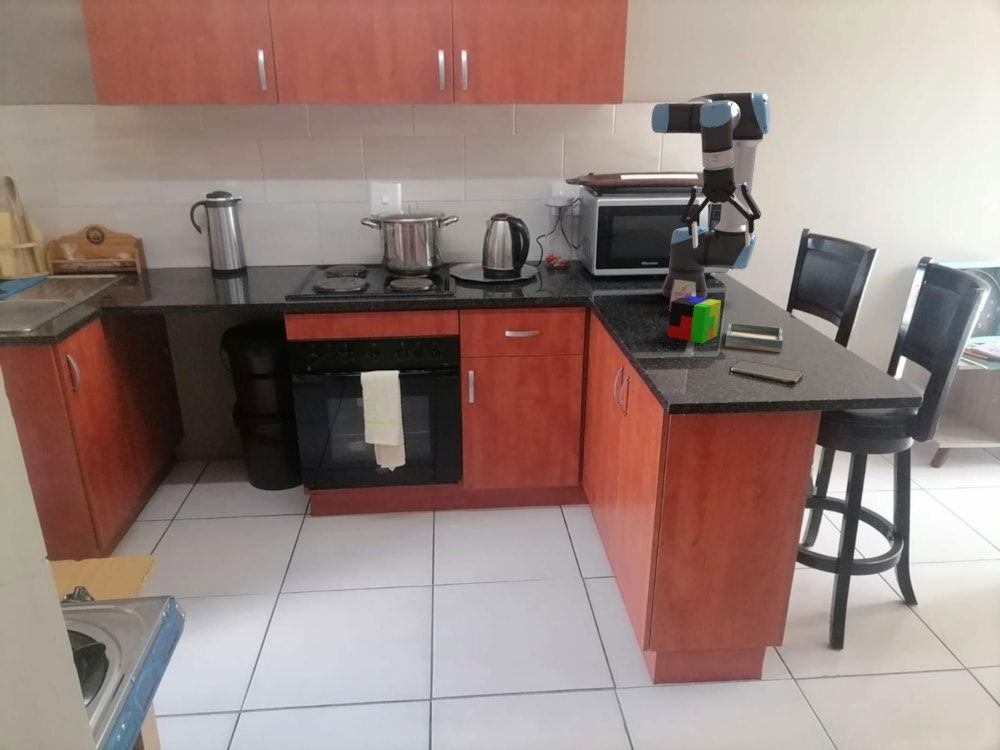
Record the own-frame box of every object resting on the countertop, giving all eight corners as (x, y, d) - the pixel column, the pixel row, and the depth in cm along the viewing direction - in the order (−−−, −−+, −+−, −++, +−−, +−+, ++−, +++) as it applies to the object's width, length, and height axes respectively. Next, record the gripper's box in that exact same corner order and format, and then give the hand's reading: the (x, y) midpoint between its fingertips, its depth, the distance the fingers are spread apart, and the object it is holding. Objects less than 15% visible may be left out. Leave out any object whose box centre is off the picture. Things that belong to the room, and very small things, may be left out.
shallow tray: (727, 332, 199) (729, 322, 198) (780, 337, 195) (782, 327, 194) (724, 346, 187) (726, 335, 186) (781, 352, 182) (782, 341, 181)
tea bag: (673, 309, 224) (676, 278, 221) (694, 312, 221) (697, 281, 217) (669, 311, 222) (672, 280, 218) (689, 315, 218) (693, 283, 214)
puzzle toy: (684, 329, 203) (687, 295, 199) (717, 335, 197) (721, 300, 193) (668, 336, 195) (671, 301, 192) (702, 343, 190) (705, 307, 186)
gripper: (665, 174, 182) (671, 251, 192) (768, 165, 171) (768, 249, 181) (672, 166, 188) (677, 242, 198) (771, 158, 177) (772, 239, 187)
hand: (721, 245), depth 189 cm, fingers open, 13 cm apart
